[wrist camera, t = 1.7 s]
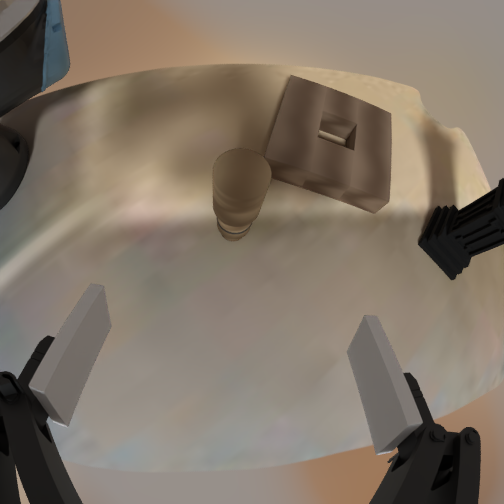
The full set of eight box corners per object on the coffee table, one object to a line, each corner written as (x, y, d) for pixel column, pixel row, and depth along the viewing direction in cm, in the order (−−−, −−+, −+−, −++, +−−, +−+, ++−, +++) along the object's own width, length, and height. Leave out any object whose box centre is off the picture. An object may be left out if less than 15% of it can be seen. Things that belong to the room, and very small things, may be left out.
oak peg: (208, 241, 33) (204, 189, 21) (220, 207, 35) (223, 142, 22) (246, 252, 34) (263, 206, 21) (256, 218, 35) (277, 157, 22)
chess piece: (466, 241, 38) (560, 195, 19) (451, 280, 36) (560, 242, 17) (436, 207, 39) (527, 144, 20) (418, 244, 37) (526, 184, 18)
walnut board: (259, 174, 36) (264, 157, 33) (285, 92, 41) (291, 75, 37) (374, 213, 37) (389, 201, 33) (380, 128, 41) (391, 113, 38)
